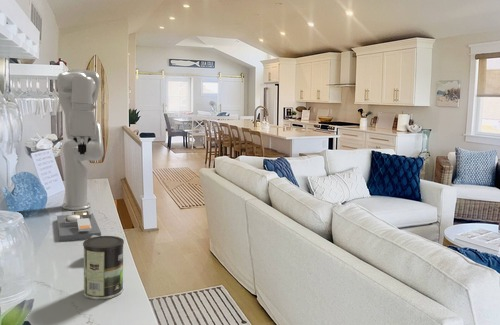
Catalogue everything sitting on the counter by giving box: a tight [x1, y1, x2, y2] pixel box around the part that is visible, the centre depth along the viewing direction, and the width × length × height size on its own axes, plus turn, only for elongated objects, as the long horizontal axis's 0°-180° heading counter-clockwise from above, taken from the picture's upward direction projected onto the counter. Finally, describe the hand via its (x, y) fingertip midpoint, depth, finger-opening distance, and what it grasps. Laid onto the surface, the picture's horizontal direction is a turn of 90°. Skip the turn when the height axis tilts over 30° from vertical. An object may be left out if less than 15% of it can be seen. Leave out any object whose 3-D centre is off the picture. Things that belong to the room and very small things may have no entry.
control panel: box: [56, 210, 102, 242], centre depth 167 cm, size 28×14×4 cm, turn 26°
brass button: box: [75, 210, 87, 215], centre depth 176 cm, size 5×5×2 cm
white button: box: [67, 214, 80, 222], centre depth 166 cm, size 5×5×2 cm
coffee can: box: [82, 235, 125, 301], centre depth 114 cm, size 10×10×14 cm
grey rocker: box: [77, 218, 92, 231], centre depth 159 cm, size 9×4×1 cm, turn 26°
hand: (82, 154), depth 169 cm, fingers closed
